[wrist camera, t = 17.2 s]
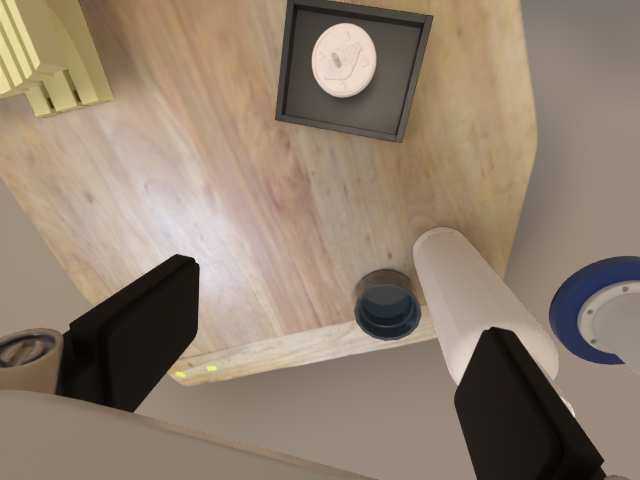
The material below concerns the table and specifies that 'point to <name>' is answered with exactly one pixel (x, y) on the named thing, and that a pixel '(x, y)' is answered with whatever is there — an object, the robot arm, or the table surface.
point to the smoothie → (344, 60)
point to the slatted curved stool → (49, 56)
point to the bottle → (474, 303)
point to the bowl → (387, 305)
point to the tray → (382, 91)
